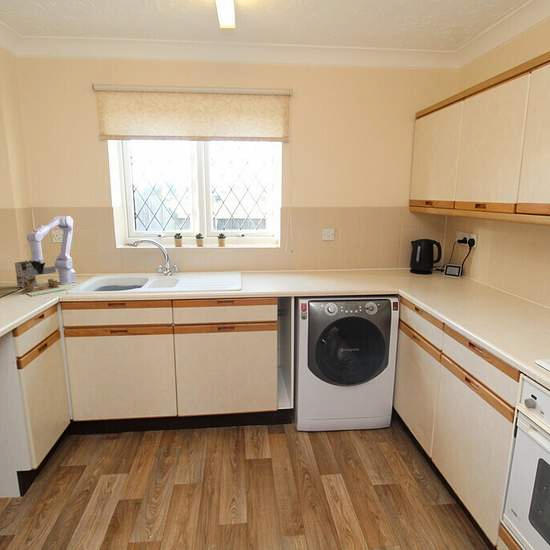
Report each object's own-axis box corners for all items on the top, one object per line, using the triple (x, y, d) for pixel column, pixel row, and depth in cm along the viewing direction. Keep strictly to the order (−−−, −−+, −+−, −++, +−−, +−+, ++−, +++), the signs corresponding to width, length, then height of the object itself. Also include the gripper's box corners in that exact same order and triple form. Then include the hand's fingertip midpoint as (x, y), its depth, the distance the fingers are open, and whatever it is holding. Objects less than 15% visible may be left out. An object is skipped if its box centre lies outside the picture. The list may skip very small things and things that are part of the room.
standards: (54, 286, 257) (53, 278, 256) (59, 287, 251) (58, 280, 250) (22, 291, 243) (21, 283, 242) (28, 293, 238) (26, 285, 237)
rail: (53, 271, 253) (52, 266, 252) (55, 272, 251) (55, 266, 250) (21, 276, 239) (21, 270, 239) (24, 277, 237) (23, 271, 236)
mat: (61, 287, 252) (61, 286, 251) (67, 289, 246) (67, 288, 246) (26, 294, 237) (26, 293, 236) (31, 296, 231) (31, 295, 231)
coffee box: (26, 288, 251) (22, 263, 248) (17, 287, 253) (13, 262, 249) (37, 285, 260) (34, 260, 257) (28, 284, 261) (25, 260, 258)
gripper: (24, 251, 244) (27, 273, 247) (33, 253, 235) (36, 276, 237) (37, 250, 249) (40, 271, 252) (46, 252, 240) (49, 274, 243)
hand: (39, 273), depth 245 cm, fingers closed on rail, 3 cm apart
